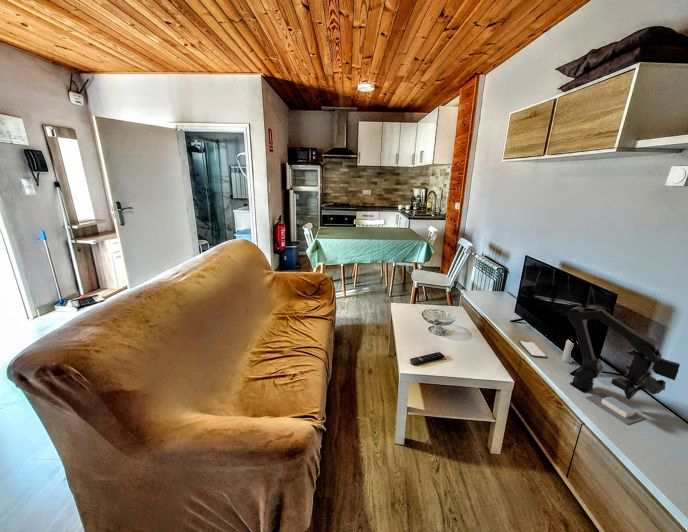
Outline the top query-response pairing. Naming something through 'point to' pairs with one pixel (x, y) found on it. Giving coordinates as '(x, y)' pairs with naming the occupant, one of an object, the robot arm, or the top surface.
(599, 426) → the top surface
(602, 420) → the top surface
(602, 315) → the robot arm
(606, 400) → the block
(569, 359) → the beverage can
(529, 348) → the phone case
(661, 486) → the top surface
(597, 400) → the mat
